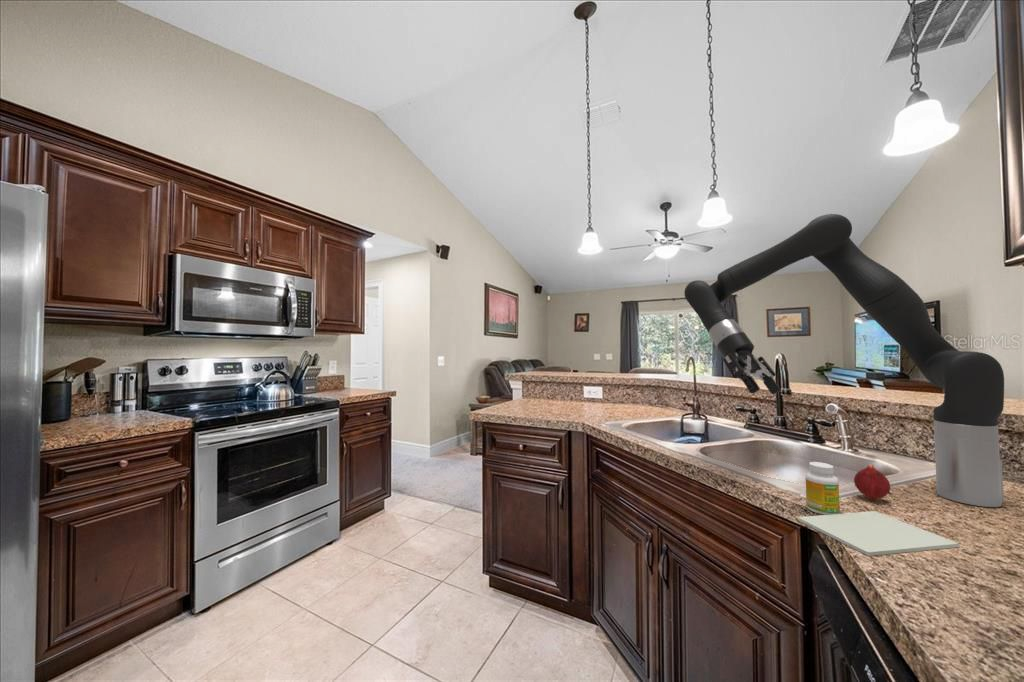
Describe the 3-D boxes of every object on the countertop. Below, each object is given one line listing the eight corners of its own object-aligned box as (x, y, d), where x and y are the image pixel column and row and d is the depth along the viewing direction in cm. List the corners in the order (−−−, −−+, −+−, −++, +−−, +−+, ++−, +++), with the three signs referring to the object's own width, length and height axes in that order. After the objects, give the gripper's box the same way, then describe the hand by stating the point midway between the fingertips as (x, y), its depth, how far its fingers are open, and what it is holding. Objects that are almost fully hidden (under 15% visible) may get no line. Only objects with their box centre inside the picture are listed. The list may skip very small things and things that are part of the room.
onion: (898, 506, 80) (896, 469, 80) (867, 504, 81) (865, 467, 81) (877, 496, 85) (876, 461, 85) (848, 494, 86) (847, 460, 87)
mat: (875, 513, 76) (875, 511, 76) (958, 547, 63) (958, 543, 63) (797, 520, 74) (797, 517, 74) (868, 555, 61) (868, 552, 61)
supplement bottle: (827, 518, 75) (825, 469, 75) (800, 507, 80) (798, 462, 80) (846, 514, 76) (844, 467, 76) (818, 504, 81) (816, 459, 82)
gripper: (724, 328, 94) (762, 383, 84) (758, 333, 100) (797, 385, 91) (702, 346, 99) (735, 399, 90) (735, 350, 105) (770, 400, 96)
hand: (766, 392), depth 90 cm, fingers open, 8 cm apart
